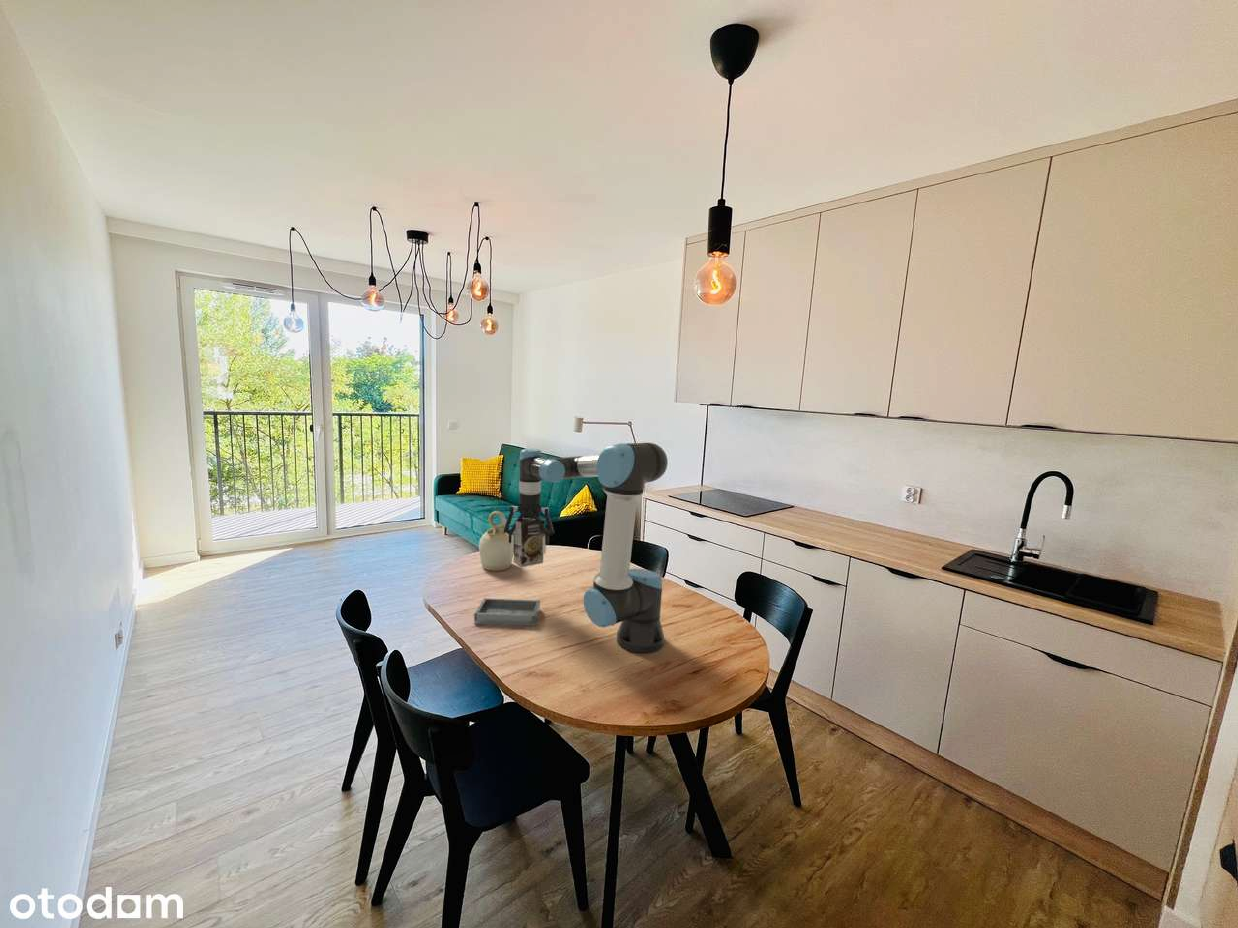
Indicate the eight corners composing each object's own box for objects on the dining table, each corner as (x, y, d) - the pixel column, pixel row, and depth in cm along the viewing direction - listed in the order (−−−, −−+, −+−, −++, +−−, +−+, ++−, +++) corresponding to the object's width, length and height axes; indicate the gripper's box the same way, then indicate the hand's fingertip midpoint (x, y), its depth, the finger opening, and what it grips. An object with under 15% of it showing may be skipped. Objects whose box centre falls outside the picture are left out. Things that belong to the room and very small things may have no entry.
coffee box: (521, 567, 175) (522, 523, 173) (513, 562, 180) (513, 519, 178) (544, 563, 181) (545, 520, 178) (535, 558, 186) (536, 516, 183)
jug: (495, 575, 209) (496, 517, 205) (471, 566, 217) (471, 510, 213) (521, 565, 221) (523, 510, 218) (497, 557, 230) (498, 505, 226)
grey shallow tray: (539, 609, 178) (540, 600, 177) (534, 626, 166) (534, 616, 165) (483, 607, 177) (483, 598, 177) (474, 623, 165) (474, 613, 165)
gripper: (563, 492, 180) (561, 550, 183) (500, 489, 180) (499, 547, 183) (560, 496, 173) (559, 557, 176) (494, 493, 173) (494, 554, 176)
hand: (528, 552), depth 180 cm, fingers closed on coffee box, 11 cm apart
